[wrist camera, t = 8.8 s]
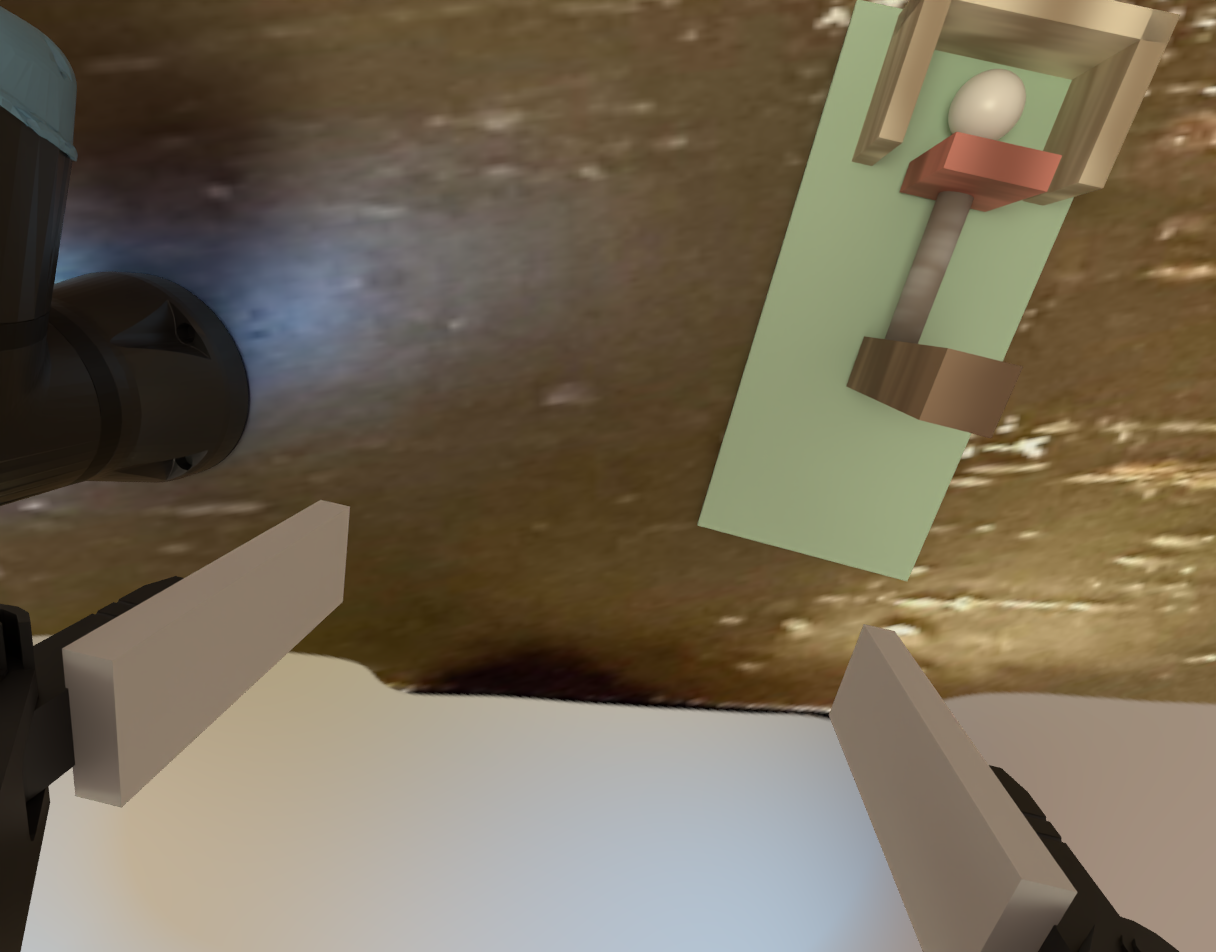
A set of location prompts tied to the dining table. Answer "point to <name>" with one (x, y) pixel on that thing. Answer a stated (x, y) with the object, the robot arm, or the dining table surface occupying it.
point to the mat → (870, 325)
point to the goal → (1040, 42)
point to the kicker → (898, 364)
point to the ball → (988, 104)
